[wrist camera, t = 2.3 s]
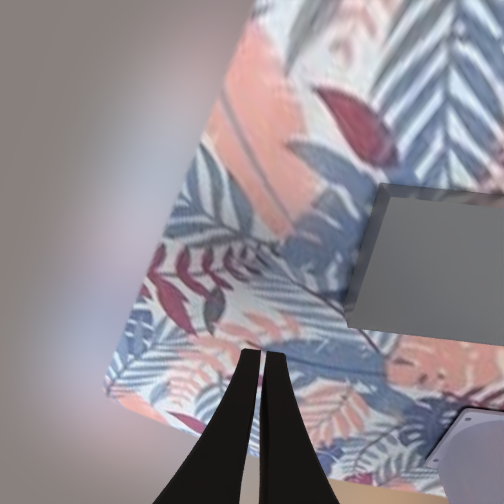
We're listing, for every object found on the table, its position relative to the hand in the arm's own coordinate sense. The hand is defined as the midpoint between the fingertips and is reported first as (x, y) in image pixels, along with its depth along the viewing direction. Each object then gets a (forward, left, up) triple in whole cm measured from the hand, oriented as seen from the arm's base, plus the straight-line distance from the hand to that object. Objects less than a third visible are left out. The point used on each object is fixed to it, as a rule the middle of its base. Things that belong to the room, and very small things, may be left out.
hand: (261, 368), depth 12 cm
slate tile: (0, -12, -10) cm, 15 cm away
